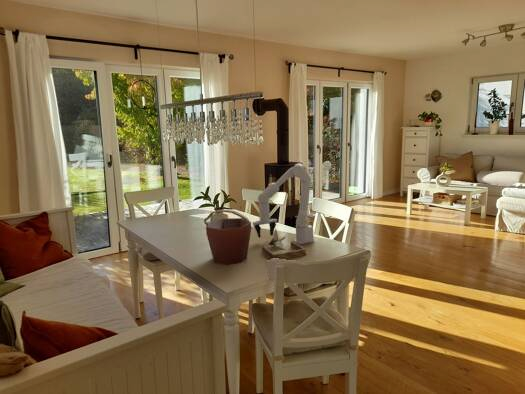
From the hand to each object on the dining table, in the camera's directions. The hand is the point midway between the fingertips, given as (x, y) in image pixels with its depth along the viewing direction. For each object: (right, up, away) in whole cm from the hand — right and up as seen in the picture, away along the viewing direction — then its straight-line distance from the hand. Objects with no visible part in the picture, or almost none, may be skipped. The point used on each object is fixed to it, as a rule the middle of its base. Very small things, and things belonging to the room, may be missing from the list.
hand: (265, 236), depth 215 cm
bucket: (-18, -9, -25) cm, 32 cm away
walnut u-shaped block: (+9, -7, -21) cm, 24 cm away
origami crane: (+7, -5, -12) cm, 15 cm away
